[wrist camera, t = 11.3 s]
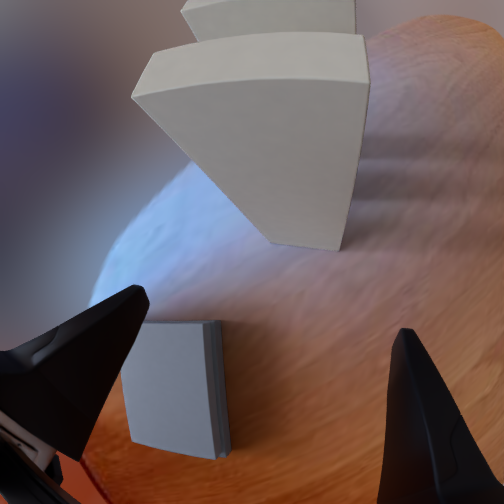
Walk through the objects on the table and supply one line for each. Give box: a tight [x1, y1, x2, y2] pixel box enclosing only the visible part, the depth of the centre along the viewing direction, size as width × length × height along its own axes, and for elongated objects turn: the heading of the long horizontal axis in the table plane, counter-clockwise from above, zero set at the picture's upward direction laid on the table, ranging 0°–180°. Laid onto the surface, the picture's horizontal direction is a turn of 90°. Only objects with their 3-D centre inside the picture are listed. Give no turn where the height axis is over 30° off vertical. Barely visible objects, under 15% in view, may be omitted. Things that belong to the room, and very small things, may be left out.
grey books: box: [121, 320, 232, 460], centre depth 19 cm, size 11×8×3 cm
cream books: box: [181, 0, 356, 42], centre depth 13 cm, size 5×5×16 cm
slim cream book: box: [131, 32, 371, 251], centre depth 12 cm, size 2×5×16 cm, turn 81°
